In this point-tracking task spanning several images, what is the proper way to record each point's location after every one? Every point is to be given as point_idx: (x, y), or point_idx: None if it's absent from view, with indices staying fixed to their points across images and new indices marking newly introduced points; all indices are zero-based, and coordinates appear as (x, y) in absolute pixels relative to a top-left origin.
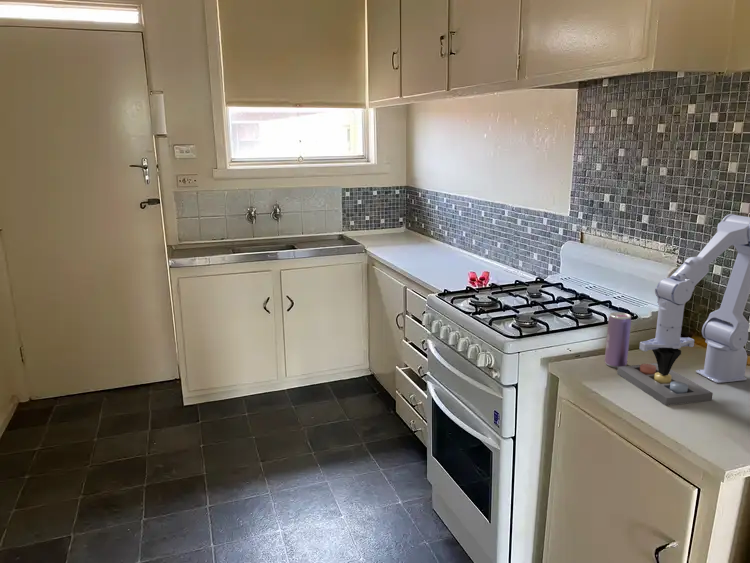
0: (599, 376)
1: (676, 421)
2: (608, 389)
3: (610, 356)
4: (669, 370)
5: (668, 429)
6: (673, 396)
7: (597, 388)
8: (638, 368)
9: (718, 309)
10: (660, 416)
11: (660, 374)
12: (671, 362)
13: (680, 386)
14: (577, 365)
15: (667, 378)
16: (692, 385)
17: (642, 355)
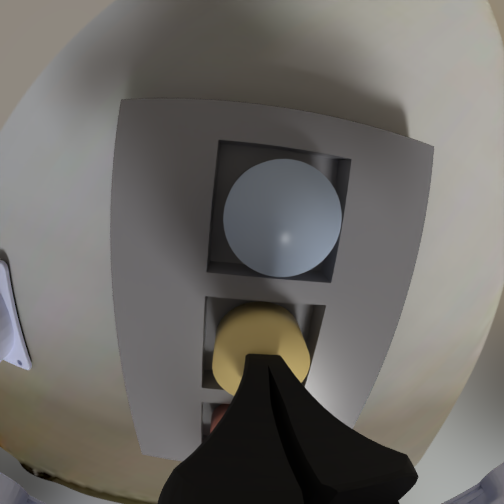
0: (394, 427)
1: (448, 47)
2: (458, 344)
3: None
4: (253, 369)
5: (487, 43)
6: (393, 142)
7: (471, 354)
8: None
9: None
10: (473, 100)
11: None
12: (258, 415)
13: (303, 188)
14: None
15: (274, 326)
16: (150, 227)
17: (138, 485)
